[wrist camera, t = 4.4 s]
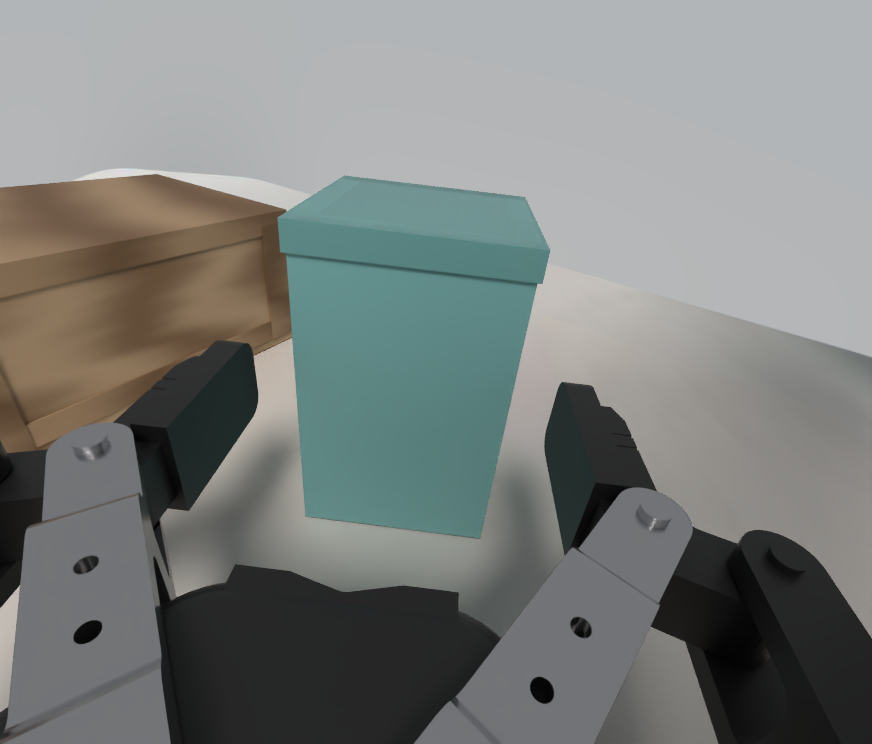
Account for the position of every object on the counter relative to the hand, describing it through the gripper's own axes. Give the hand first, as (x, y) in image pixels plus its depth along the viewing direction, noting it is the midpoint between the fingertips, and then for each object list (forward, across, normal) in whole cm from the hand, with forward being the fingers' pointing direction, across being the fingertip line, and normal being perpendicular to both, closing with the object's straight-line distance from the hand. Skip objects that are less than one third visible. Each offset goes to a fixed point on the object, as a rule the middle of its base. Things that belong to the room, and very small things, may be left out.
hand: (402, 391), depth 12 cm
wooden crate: (+9, +15, +6) cm, 19 cm away
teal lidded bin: (+4, 0, +6) cm, 7 cm away
